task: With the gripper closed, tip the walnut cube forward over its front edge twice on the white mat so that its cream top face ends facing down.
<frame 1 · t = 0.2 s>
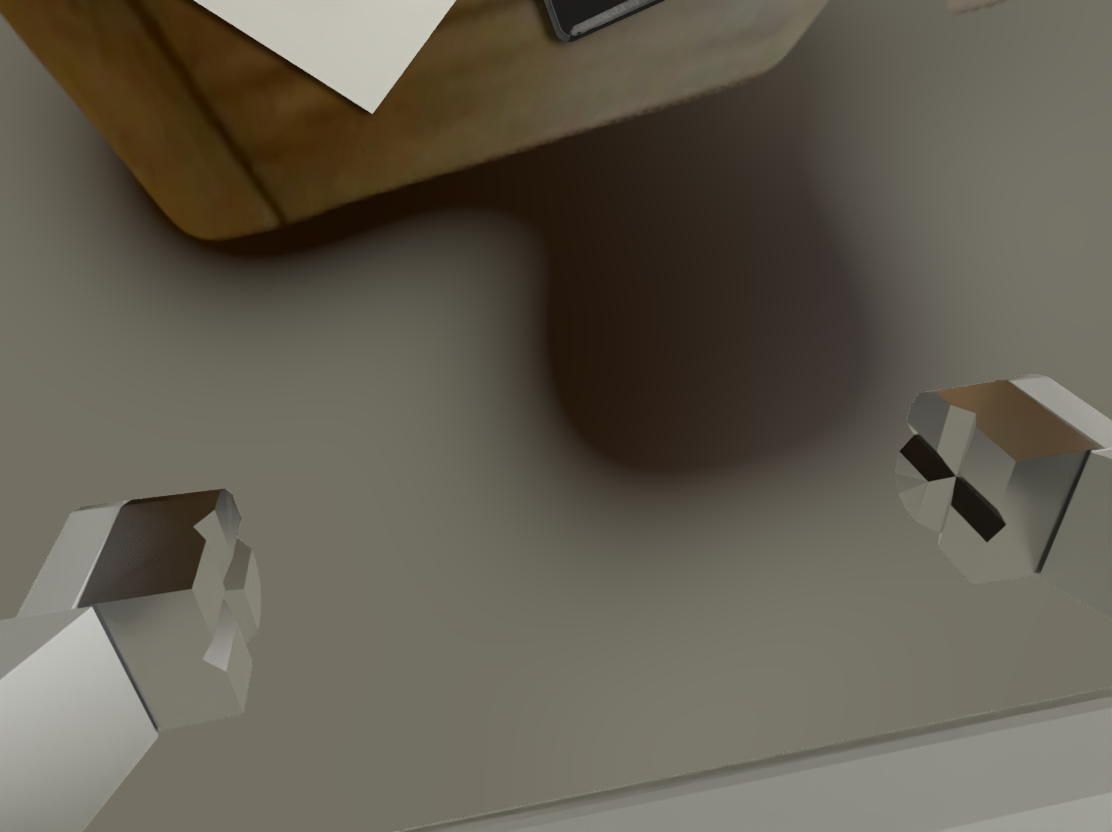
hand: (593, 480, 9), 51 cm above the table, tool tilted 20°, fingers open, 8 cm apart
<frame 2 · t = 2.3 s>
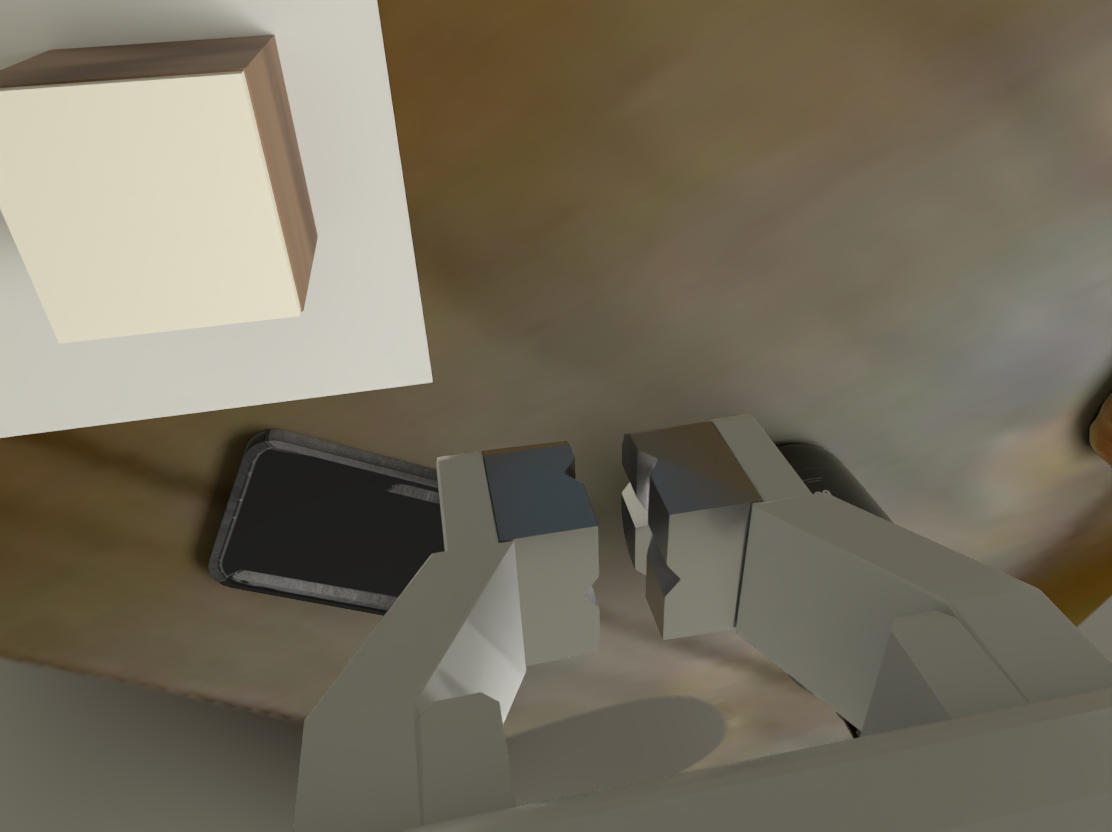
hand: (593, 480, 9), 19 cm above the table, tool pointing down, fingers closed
walnut cube: (195, 151, 24), point 1 cm above the table, touching white mat
white mat: (7, 162, 23), on the table
supplement bottle: (773, 496, 37), on the table
phone: (408, 530, 34), on the table
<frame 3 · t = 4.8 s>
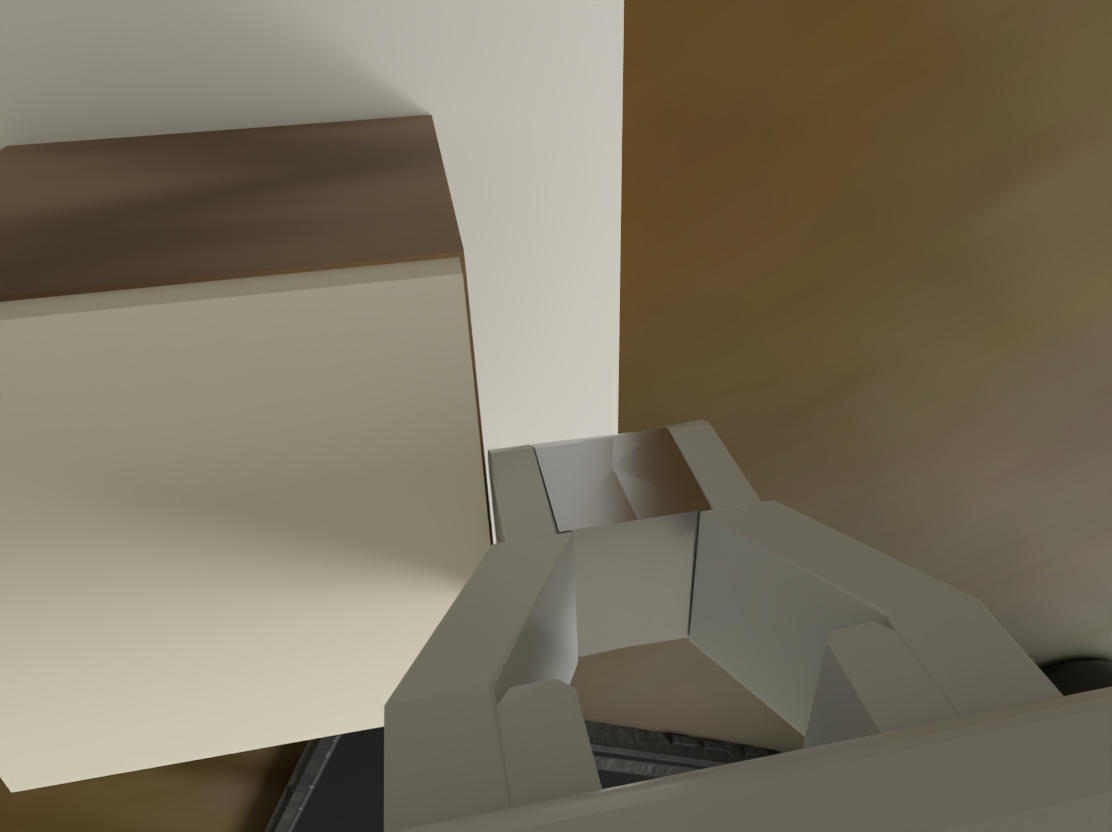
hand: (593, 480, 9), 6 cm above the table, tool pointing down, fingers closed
walnut cube: (273, 314, 13), point 1 cm above the table, touching white mat, gripper
supplement bottle: (1034, 717, 27), on the table
phone: (539, 786, 24), on the table
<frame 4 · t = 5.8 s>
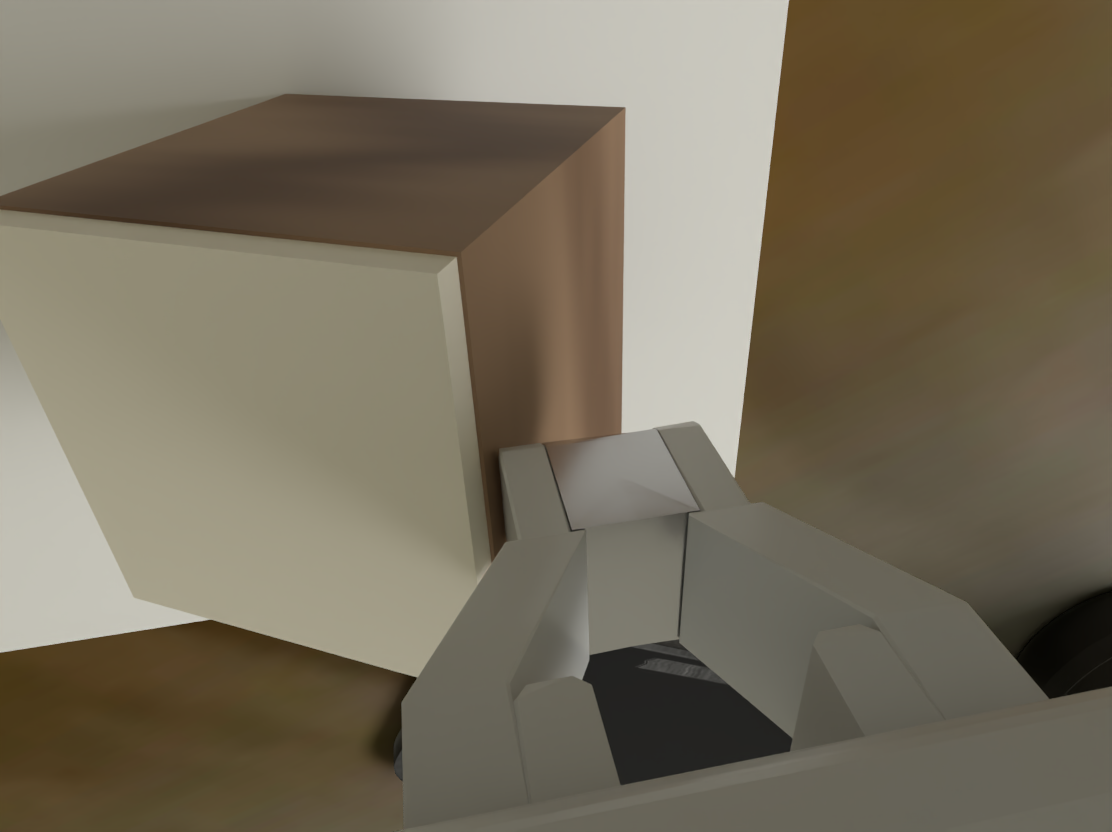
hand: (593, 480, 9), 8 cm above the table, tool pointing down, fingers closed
walnut cube: (462, 274, 14), point 2 cm above the table, tilted 30°, touching white mat, gripper
white mat: (191, 260, 15), on the table
supplement bottle: (1086, 644, 29), on the table
phone: (637, 700, 26), on the table
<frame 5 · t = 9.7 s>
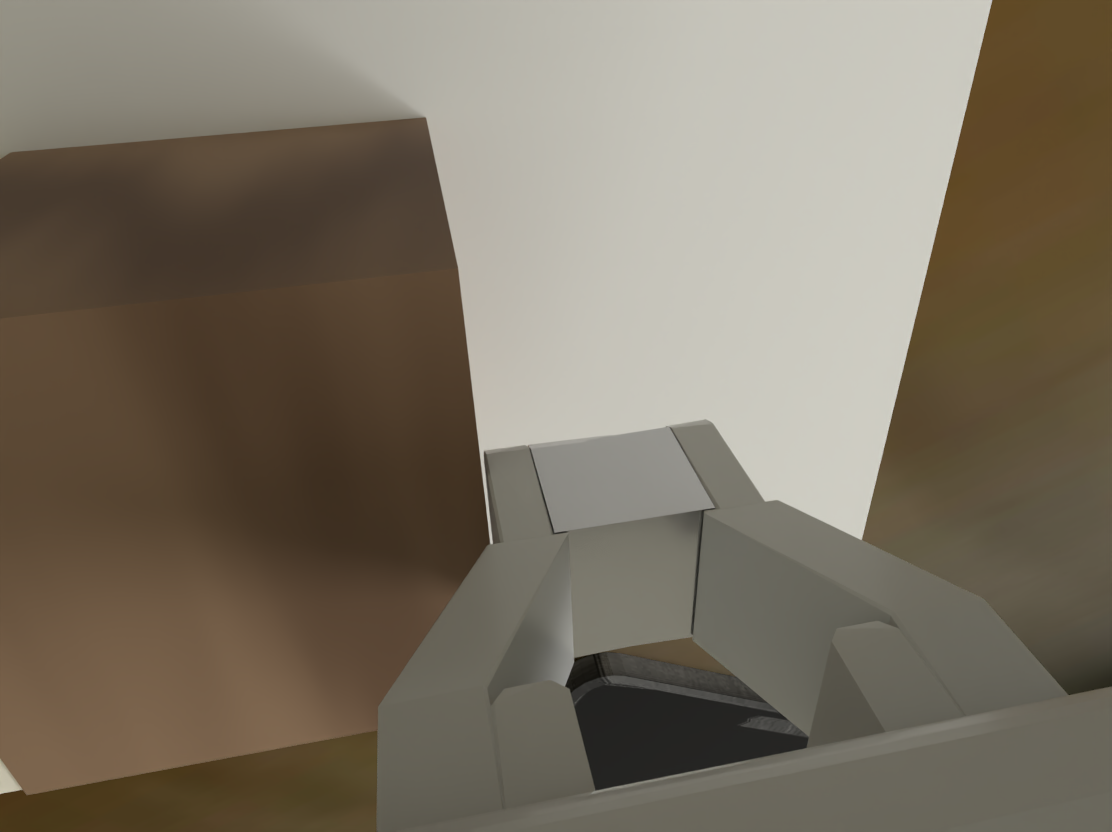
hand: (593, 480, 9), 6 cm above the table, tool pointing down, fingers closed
walnut cube: (464, 389, 11), point 4 cm above the table, tilted 90°, touching white mat, gripper
white mat: (302, 301, 14), on the table
phone: (727, 755, 25), on the table
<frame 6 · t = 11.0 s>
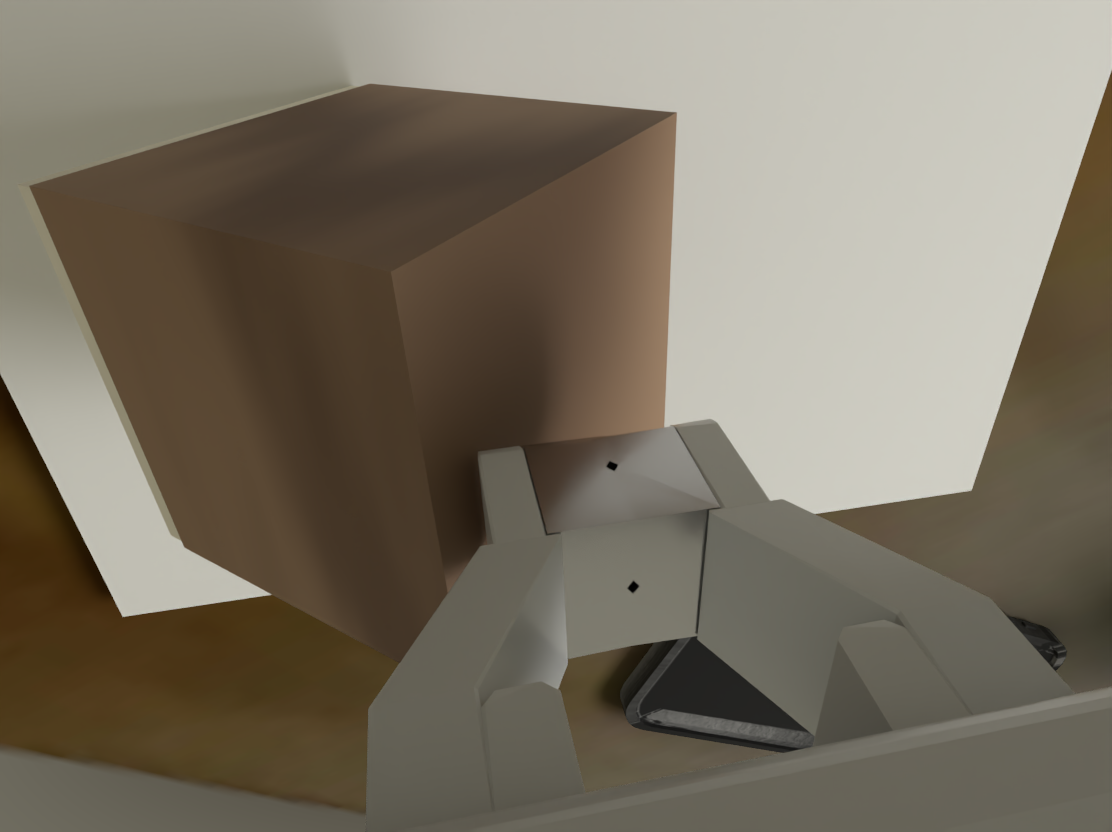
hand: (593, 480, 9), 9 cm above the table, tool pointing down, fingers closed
walnut cube: (575, 395, 11), point 7 cm above the table, tilted 131°, touching white mat, gripper
white mat: (559, 214, 16), on the table
phone: (839, 653, 27), on the table
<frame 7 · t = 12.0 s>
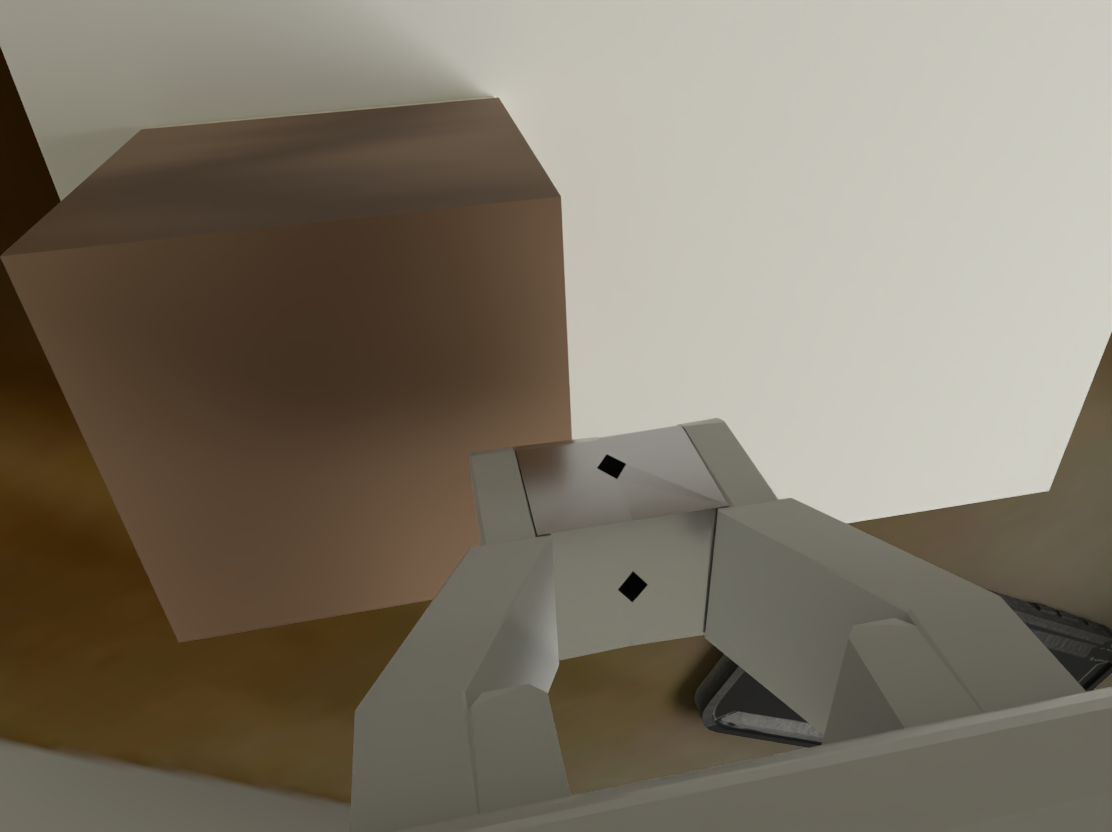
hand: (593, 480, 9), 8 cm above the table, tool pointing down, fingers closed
walnut cube: (346, 447, 10), point 7 cm above the table, tilted 180°, touching white mat
white mat: (675, 221, 17), on the table
phone: (905, 654, 28), on the table
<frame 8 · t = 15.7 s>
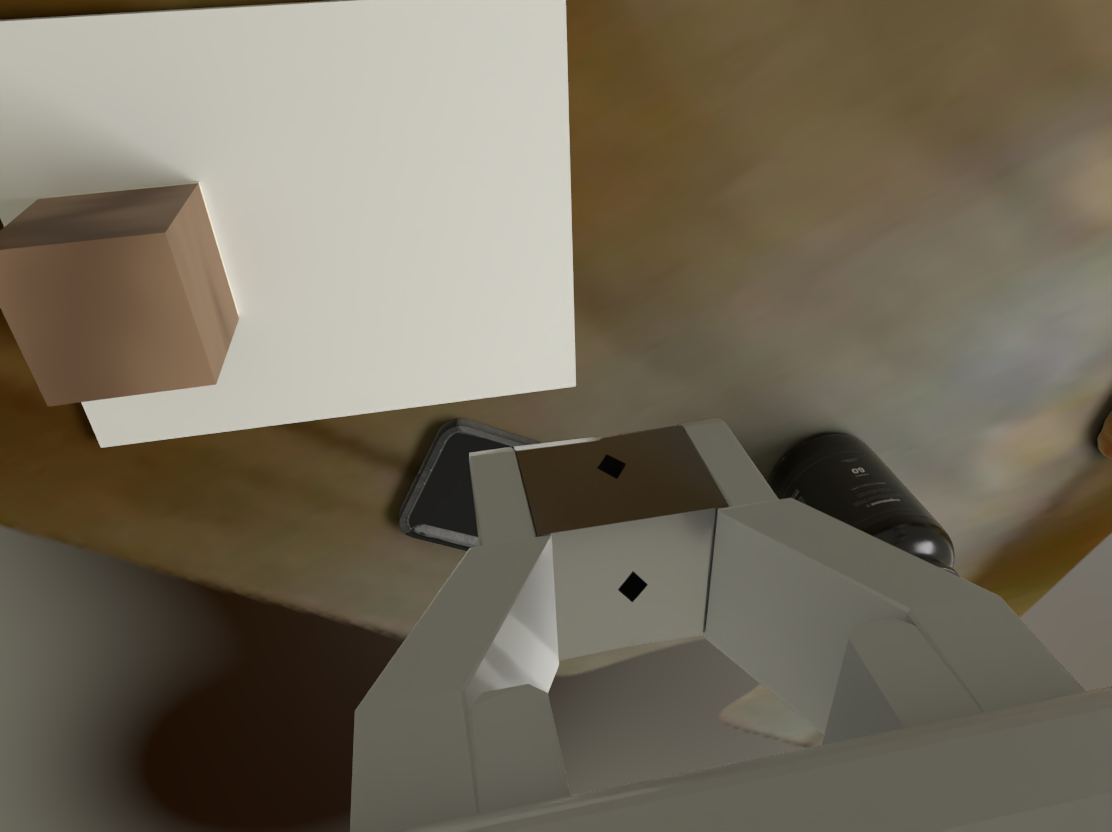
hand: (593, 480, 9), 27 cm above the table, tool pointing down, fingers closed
walnut cube: (103, 323, 28), point 7 cm above the table, tilted 180°, touching white mat
white mat: (310, 236, 34), on the table
supplement bottle: (816, 474, 48), on the table
phone: (541, 498, 45), on the table
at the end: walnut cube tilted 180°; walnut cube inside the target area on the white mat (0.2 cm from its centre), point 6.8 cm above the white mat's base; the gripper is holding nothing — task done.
